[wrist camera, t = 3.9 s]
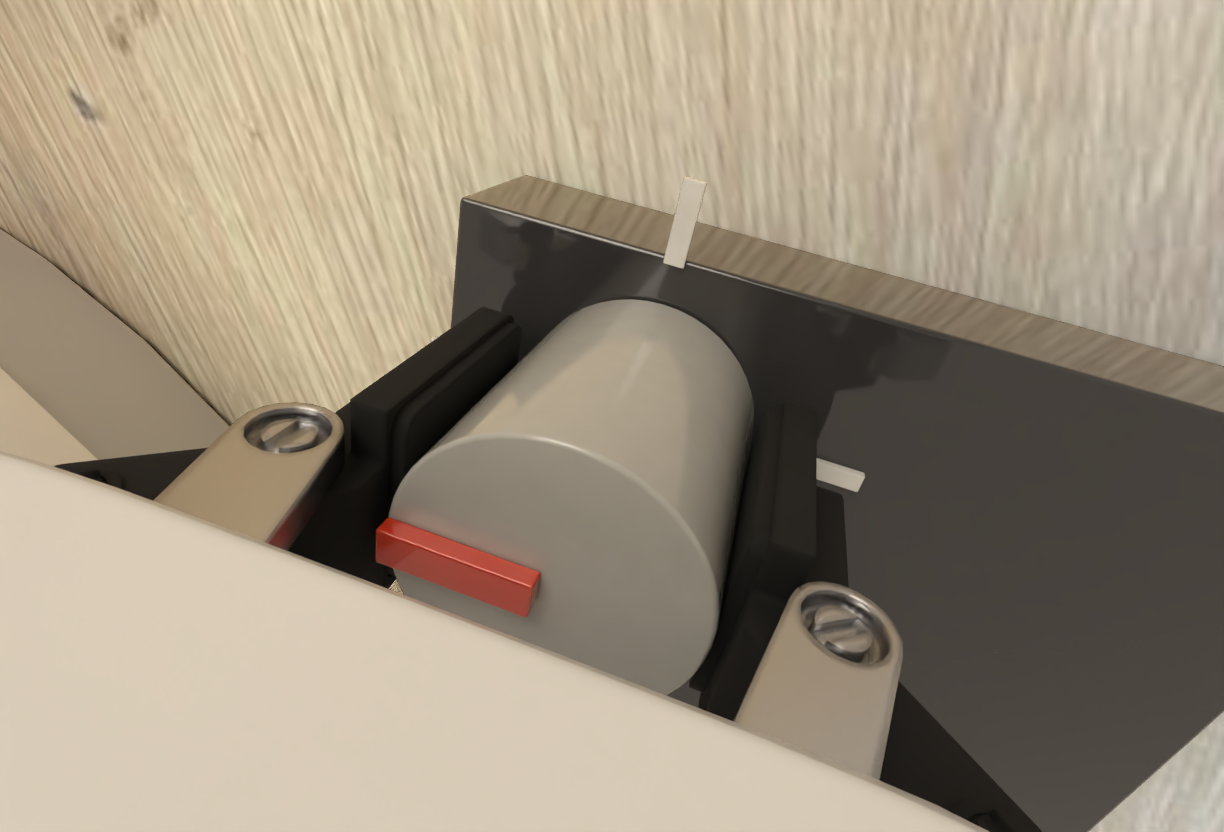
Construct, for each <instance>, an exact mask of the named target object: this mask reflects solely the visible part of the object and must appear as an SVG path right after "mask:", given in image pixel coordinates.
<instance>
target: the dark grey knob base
mask: <svg viewBox="0 0 1224 832" xmlns="http://www.w3.org/2000/svg"><path fill="white" fill-rule="evenodd" d="M706 185H707V182H706V181H702V180H698V179H695V178H691V177H687V176H686V177H684V180H683V184H682V188H681V192H680V196H679V200H678V204H677V208H676V212H675V216H674V215H670V214H667V213H663V212H659V211H656V210H652V209H648V208H645V207H641V206H637V205H634V204H630V203H626V202H623V201H619V200H615V199H612V198H608V197H605V196H601V195H597V194H594V193H590V192H586V191H583V190H579V189H575V188H572V187H568V186H564V185H561V184H557V183H554V182H550V181H546V180H543V179H539V178H535V177H532V176H528V175H525V176H521V177H519V178H516V179H513V180H510V181H507V182H505V183H502V184H499V185H496V186H494V187H491V188H488V189H485V190H482V191H480V192H477V193H474V194H471V195H468V196H466V197H463V198H462V199H461V203H460V216H459V229H458V242H457V255H456V268H455V281H454V295H453V308H452V321H451V328H452V327H454V326H455V325H457V324H458V323H459V322H461V321H462V320H464V319H465V318H467V317H468V316H469V315H471V314H472V313H474V312H475V311H476V310H478V309H479V308H481V307H486V308H489V309H493V310H496V311H499V312H502V313H506V314H509V315H512V316H513V318H514V324H515V325H518V326H520V327H521V329H522V336H521V343H520V350H519V358H518V363H519V362H520V361H521V360H522V359H523V358H524V357H525V356H526V355H527V354H528V353H529V352H530V351H531V350H532V349H533V348H534V347H535V346H536V345H537V344H538V343H539V342H540V341H541V340H542V339H543V338H544V337H545V336H546V335H547V334H548V333H549V332H550V331H551V330H552V329H553V328H555V327H556V326H557V325H558V324H559V323H560V322H561V321H562V320H564V319H565V318H567V317H568V316H570V315H571V314H573V313H575V312H577V311H579V310H581V309H583V308H585V307H588V306H591V305H594V304H597V303H600V302H606V301H612V300H626V299H633V300H643V301H650V302H655V303H659V304H663V305H666V306H669V307H672V308H674V309H677V310H680V311H682V312H684V313H685V314H687V315H689V316H691V317H693V318H695V319H696V320H698V321H699V322H701V323H702V324H704V325H705V326H707V327H708V328H709V329H710V330H711V331H713V332H714V333H715V334H716V335H717V336H718V337H719V338H720V339H721V340H722V341H723V342H724V343H725V344H726V345H727V347H728V348H729V349H730V350H731V351H732V353H733V354H734V356H735V357H736V359H737V360H738V362H739V363H740V365H741V367H742V369H743V371H744V374H745V376H746V378H747V381H748V384H749V387H750V390H751V394H752V399H753V405H754V425H753V433H752V439H751V445H750V451H749V456H750V454H751V451H752V448H753V446H754V443H755V440H756V438H757V435H758V432H759V430H760V427H761V424H762V422H763V419H764V417H765V414H766V411H767V409H768V407H769V405H770V404H774V405H777V406H780V407H781V405H782V403H783V401H784V400H785V399H786V400H789V401H792V402H795V403H799V404H802V405H805V406H808V407H812V408H815V409H816V411H817V470H816V486H819V487H822V488H825V489H828V490H831V491H834V492H837V493H840V494H841V495H842V496H843V500H844V516H845V532H846V549H847V565H848V582H849V588H850V589H852V590H855V591H857V592H858V593H860V594H862V595H863V596H865V597H867V598H868V599H870V600H871V601H873V602H874V603H875V604H876V605H877V606H878V607H879V608H881V609H882V610H883V611H884V612H885V613H886V614H887V615H888V617H889V618H890V619H891V621H892V622H893V623H894V625H895V626H896V627H897V629H898V632H899V634H900V637H901V639H902V641H903V659H902V665H901V670H900V675H899V680H898V681H899V682H900V683H901V684H902V685H903V686H904V687H905V688H906V689H907V690H908V691H909V692H910V693H911V694H912V695H913V696H914V697H915V698H916V699H917V701H918V702H919V703H920V704H921V705H922V706H923V707H924V708H925V709H926V710H927V711H928V712H929V713H930V714H931V715H932V716H933V717H934V718H935V719H936V720H937V721H938V723H939V724H940V725H941V726H942V727H943V728H944V729H945V730H946V731H947V732H948V733H949V734H950V735H951V736H952V737H953V738H954V739H955V740H956V741H957V742H958V743H959V745H960V746H961V747H962V748H963V749H964V750H965V751H966V752H967V753H968V754H969V755H970V756H971V757H972V758H973V759H974V760H975V761H976V762H977V763H978V764H979V765H980V767H981V768H982V769H983V770H984V771H985V772H986V773H987V774H988V775H989V776H990V777H991V778H992V779H993V780H994V781H995V782H996V783H997V784H998V785H999V786H1000V787H1001V789H1002V790H1003V791H1004V792H1005V793H1006V794H1007V795H1008V796H1009V797H1010V798H1011V799H1012V800H1013V801H1014V802H1015V803H1016V804H1017V805H1018V806H1019V807H1020V808H1021V809H1022V811H1023V812H1024V813H1025V814H1026V815H1027V816H1028V817H1029V818H1030V819H1031V820H1032V821H1033V822H1034V823H1035V824H1036V825H1037V826H1038V827H1039V828H1040V830H1041V831H1042V832H1089V831H1090V830H1091V829H1092V828H1093V827H1095V826H1096V825H1097V824H1098V823H1099V822H1100V821H1101V820H1102V819H1104V818H1105V817H1106V816H1107V815H1108V814H1109V813H1110V812H1111V811H1113V810H1114V809H1115V808H1116V807H1117V806H1118V805H1119V804H1120V803H1122V802H1123V801H1124V800H1125V799H1126V798H1127V797H1128V796H1129V795H1131V794H1132V793H1133V792H1134V791H1135V790H1136V789H1137V788H1138V787H1140V786H1141V785H1142V784H1143V783H1144V782H1145V781H1146V780H1147V779H1149V778H1150V777H1151V776H1152V775H1153V774H1154V773H1155V772H1156V771H1158V770H1159V769H1160V768H1161V767H1162V766H1163V765H1164V764H1165V763H1167V762H1168V761H1169V760H1170V759H1171V758H1172V757H1173V756H1174V755H1175V754H1177V753H1178V752H1179V751H1180V750H1181V749H1182V748H1183V747H1184V746H1186V745H1187V744H1188V743H1189V742H1190V741H1191V740H1192V739H1193V738H1195V737H1196V736H1197V735H1198V734H1199V733H1200V732H1201V731H1202V730H1204V729H1205V728H1206V727H1207V726H1208V725H1209V724H1210V723H1211V722H1213V721H1214V720H1215V719H1216V718H1217V717H1218V716H1219V715H1220V714H1222V713H1223V712H1224V366H1221V365H1217V364H1213V363H1210V362H1206V361H1203V360H1199V359H1195V358H1192V357H1188V356H1184V355H1181V354H1177V353H1173V352H1170V351H1166V350H1162V349H1159V348H1155V347H1152V346H1148V345H1144V344H1141V343H1137V342H1133V341H1130V340H1126V339H1122V338H1119V337H1115V336H1111V335H1108V334H1104V333H1100V332H1097V331H1093V330H1090V329H1086V328H1082V327H1079V326H1075V325H1071V324H1068V323H1064V322H1060V321H1057V320H1053V319H1049V318H1046V317H1042V316H1038V315H1035V314H1031V313H1028V312H1024V311H1020V310H1017V309H1013V308H1009V307H1006V306H1002V305H998V304H995V303H991V302H987V301H984V300H980V299H976V298H973V297H969V296H966V295H962V294H958V293H955V292H951V291H947V290H944V289H940V288H936V287H933V286H929V285H925V284H922V283H918V282H914V281H911V280H907V279H904V278H900V277H896V276H893V275H889V274H885V273H882V272H878V271H874V270H871V269H867V268H863V267H860V266H856V265H853V264H849V263H845V262H842V261H838V260H834V259H831V258H827V257H823V256H820V255H816V254H812V253H809V252H805V251H801V250H798V249H794V248H791V247H787V246H783V245H780V244H776V243H772V242H769V241H765V240H761V239H758V238H754V237H750V236H747V235H743V234H739V233H736V232H732V231H729V230H725V229H721V228H718V227H714V226H710V225H707V224H703V223H699V222H697V219H698V215H699V212H700V208H701V204H702V200H703V197H704V193H705V189H706ZM437 338H438V337H433V338H432V339H431V342H432V341H434V340H435V339H437ZM749 456H748V459H749ZM689 682H690V679H689V680H687V681H686V682H685V683H684V684H683V685H682V686H681V687H679V688H678V689H676V690H674V691H673V692H671V693H669V694H668V695H666V696H669V697H671V698H674V699H677V700H679V701H682V702H684V703H687V704H689V705H692V706H695V707H697V708H698V704H699V699H700V693H701V692H700V691H697V690H694V689H692V688H689Z"/></svg>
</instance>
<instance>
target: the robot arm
mask: <svg viewBox="0 0 1224 832" xmlns="http://www.w3.org/2000/svg"><path fill="white" fill-rule="evenodd" d="M521 336H522V329H521V327H520V326H518V325H515V324H514V318H513V316H512V315H509V314H506V313H502V312H499V311H496V310H493V309H489V308H486V307H481V308H479V309H478V310H476V311H475V312H474V313H472V314H471V315H469V316H468V317H467V318H465V319H464V320H462V321H461V322H459V323H458V324H457V325H455V326H454V327H452V328H451V329H449V330H448V331H447V332H445V333H444V334H442V335H441V336H440V337H438V338H437V339H435V340H434V341H432V342H431V343H430V344H428V345H427V346H425V347H424V348H423V349H421V350H420V351H418V352H417V353H415V354H414V355H413V356H411V357H410V358H408V359H407V360H406V361H404V362H403V363H401V364H400V365H398V366H397V367H396V368H394V369H393V370H391V371H390V372H389V373H387V374H386V375H384V376H383V377H381V378H380V379H379V380H377V381H376V382H374V383H373V384H372V385H370V386H369V387H367V388H366V389H364V390H363V391H362V392H360V393H359V394H357V395H356V396H355V397H353V398H352V399H350V403H348V404H347V405H345V406H344V407H343V408H341V409H340V410H338V411H337V412H336V413H333V412H332V411H330V410H328V409H326V408H324V407H320V406H317V405H313V404H307V403H297V402H292V403H277V404H272V405H267V406H262V407H260V408H257V409H255V410H252V411H250V412H247V413H246V414H245V415H243V416H242V417H240V418H239V419H237V420H236V421H235V422H234V423H233V424H232V425H231V426H230V427H229V428H228V429H227V430H226V431H225V432H224V433H223V434H222V435H221V436H220V437H219V438H218V439H217V440H215V441H214V442H213V443H212V444H211V445H210V446H209V447H208V448H201V449H192V450H183V451H174V452H165V453H156V454H147V455H138V456H129V457H120V458H111V459H102V460H93V461H84V462H75V463H66V464H60V465H55V466H51V465H48V464H45V463H42V462H39V461H36V460H33V459H29V458H25V457H21V456H17V455H13V454H9V453H5V452H1V451H0V832H1042V831H1041V830H1040V828H1039V827H1038V826H1037V825H1036V824H1035V823H1034V822H1033V821H1032V820H1031V819H1030V818H1029V817H1028V816H1027V815H1026V814H1025V813H1024V812H1023V811H1022V809H1021V808H1020V807H1019V806H1018V805H1017V804H1016V803H1015V802H1014V801H1013V800H1012V799H1011V798H1010V797H1009V796H1008V795H1007V794H1006V793H1005V792H1004V791H1003V790H1002V789H1001V787H1000V786H999V785H998V784H997V783H996V782H995V781H994V780H993V779H992V778H991V777H990V776H989V775H988V774H987V773H986V772H985V771H984V770H983V769H982V768H981V767H980V765H979V764H978V763H977V762H976V761H975V760H974V759H973V758H972V757H971V756H970V755H969V754H968V753H967V752H966V751H965V750H964V749H963V748H962V747H961V746H960V745H959V743H958V742H957V741H956V740H955V739H954V738H953V737H952V736H951V735H950V734H949V733H948V732H947V731H946V730H945V729H944V728H943V727H942V726H941V725H940V724H939V723H938V721H937V720H936V719H935V718H934V717H933V716H932V715H931V714H930V713H929V712H928V711H927V710H926V709H925V708H924V707H923V706H922V705H921V704H920V703H919V702H918V701H917V699H916V698H915V697H914V696H913V695H912V694H911V693H910V692H909V691H908V690H907V689H906V688H905V687H904V686H903V685H902V684H901V683H900V682H899V681H898V680H899V675H900V670H901V665H902V659H903V641H902V639H901V637H900V634H899V632H898V629H897V627H896V626H895V625H894V623H893V622H892V621H891V619H890V618H889V617H888V615H887V614H886V613H885V612H884V611H883V610H882V609H881V608H879V607H878V606H877V605H876V604H875V603H874V602H873V601H871V600H870V599H868V598H867V597H865V596H863V595H862V594H860V593H858V592H857V591H855V590H852V589H850V588H849V582H848V565H847V549H846V532H845V516H844V500H843V496H842V495H841V494H840V493H837V492H834V491H831V490H828V489H825V488H822V487H819V486H816V470H817V411H816V409H815V408H812V407H808V406H805V405H802V404H799V403H795V402H792V401H789V400H786V399H785V400H784V401H783V403H782V405H781V407H780V406H777V405H774V404H770V405H769V407H768V409H767V411H766V414H765V417H764V419H763V422H762V424H761V427H760V430H759V432H758V435H757V438H756V440H755V443H754V446H753V448H752V451H751V454H750V456H749V459H748V462H747V467H746V473H745V479H744V484H743V490H742V496H741V501H740V507H739V513H738V518H737V524H736V529H735V535H734V541H733V546H732V552H731V558H730V563H729V569H728V574H727V580H726V586H725V591H724V597H723V603H722V608H721V614H720V620H719V625H718V631H717V634H716V637H715V640H714V643H713V646H712V648H711V650H710V652H709V654H708V656H707V658H706V660H705V661H704V663H703V664H702V665H701V666H700V668H699V669H698V670H697V671H696V673H695V674H694V675H693V676H692V677H691V678H690V682H689V688H692V689H694V690H697V691H700V692H701V693H700V699H699V704H698V708H697V707H695V706H692V705H689V704H687V703H684V702H682V701H679V700H677V699H674V698H671V697H669V696H666V695H664V694H661V693H658V692H656V691H653V690H651V689H648V688H646V687H643V686H640V685H638V684H635V683H633V682H630V681H627V680H625V679H622V678H620V677H617V676H615V675H612V674H609V673H607V672H604V671H602V670H599V669H596V668H594V667H591V666H589V665H586V664H584V663H581V662H578V661H576V660H573V659H571V658H568V657H565V656H563V655H560V654H558V653H555V652H552V651H550V650H547V649H545V648H542V647H539V646H537V645H534V644H532V643H529V642H526V641H524V640H521V639H518V638H516V637H513V636H511V635H508V634H505V633H503V632H500V631H497V630H495V629H492V628H490V627H487V626H484V625H482V624H479V623H477V622H474V621H471V620H469V619H466V618H463V617H461V616H458V615H456V614H453V613H450V612H448V611H445V610H442V609H440V608H437V607H435V606H432V605H429V604H427V603H424V602H421V601H419V600H416V599H413V598H411V597H408V596H406V595H403V594H400V593H398V592H395V591H392V590H390V589H388V588H389V587H390V586H391V584H392V583H393V582H394V581H395V580H396V577H395V574H394V571H393V568H391V567H389V566H386V565H383V564H381V563H378V562H376V560H375V547H376V530H377V528H378V527H379V526H380V525H381V524H382V523H383V522H384V521H385V520H386V519H387V518H388V516H389V511H390V508H391V504H392V501H393V497H394V494H395V492H396V490H397V488H398V486H399V484H400V482H401V480H402V479H403V478H404V476H405V475H406V474H407V473H408V471H409V470H410V469H411V467H412V466H413V465H414V464H415V463H416V462H417V461H418V460H419V459H420V458H421V457H423V456H424V455H425V454H426V453H427V452H428V451H429V450H430V449H431V448H432V447H433V446H434V445H435V444H436V443H437V442H438V441H439V440H440V439H441V438H442V437H443V436H444V435H445V434H446V433H447V432H448V431H449V430H450V429H451V428H452V427H453V426H454V425H455V424H456V423H457V422H458V421H459V420H460V419H461V418H462V417H463V416H464V415H465V414H466V413H467V412H469V411H470V410H471V409H472V408H473V407H474V406H475V405H476V404H477V403H478V402H479V401H480V400H481V399H482V398H483V397H484V396H485V395H486V394H487V393H488V392H489V391H490V390H491V389H492V388H493V387H494V386H495V385H496V384H497V383H498V382H499V381H500V380H501V379H502V378H503V377H504V376H505V375H506V374H507V373H508V372H509V371H510V370H511V369H512V368H513V367H515V366H516V365H517V364H518V358H519V350H520V343H521Z"/></svg>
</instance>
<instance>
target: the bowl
mask: <svg viewBox="0 0 1224 832" xmlns="http://www.w3.org/2000/svg"><path fill="white" fill-rule="evenodd" d="M229 427H230V426H229V425H228V424H227V423H226V422H225V421H224V420H223V419H222V418H221V417H220V416H219V415H218V414H217V413H216V412H215V411H214V410H213V409H212V408H211V407H210V406H209V405H208V404H207V403H206V402H205V401H204V400H203V399H202V398H201V397H200V396H199V395H198V394H197V393H196V392H195V391H194V390H193V389H192V388H191V387H190V386H189V385H188V384H187V383H186V382H185V381H184V380H183V379H182V378H181V377H180V376H179V375H178V373H177V372H176V371H175V370H174V369H173V368H172V367H171V366H170V365H169V364H168V363H167V362H166V361H165V360H164V359H163V358H162V357H161V356H160V355H159V354H158V353H157V352H156V351H155V350H154V349H153V348H152V347H151V346H150V345H149V344H148V343H147V342H146V341H145V340H144V339H142V338H141V337H140V336H139V335H137V334H136V333H135V332H134V331H133V330H131V329H130V328H129V327H128V326H127V325H125V324H124V323H123V322H122V321H120V320H119V319H118V318H117V317H116V316H114V315H113V314H112V313H111V312H109V311H108V310H107V309H106V308H105V307H103V306H102V305H101V304H100V303H99V302H97V301H96V300H95V299H94V298H92V297H91V296H90V295H89V294H88V293H86V292H85V291H84V290H83V289H81V288H80V287H79V286H78V285H77V284H75V283H74V282H73V281H72V280H71V279H69V278H68V277H67V276H66V275H64V274H63V273H62V272H61V271H60V270H58V269H57V268H56V267H55V266H54V265H52V264H51V263H50V262H49V261H47V260H46V259H45V258H44V257H42V256H41V255H39V254H38V253H36V252H34V251H33V250H31V249H30V248H28V247H27V246H25V245H24V244H22V243H21V242H19V241H18V240H16V239H15V238H13V237H12V236H10V235H9V234H7V233H6V232H4V231H3V230H1V229H0V451H1V452H5V453H9V454H13V455H17V456H21V457H25V458H29V459H33V460H36V461H39V462H42V463H45V464H48V465H51V466H55V465H60V464H66V463H75V462H84V461H93V460H102V459H111V458H120V457H129V456H138V455H147V454H156V453H165V452H174V451H183V450H192V449H201V448H208V447H209V446H210V445H211V444H212V443H213V442H214V441H215V440H217V439H218V438H219V437H220V436H221V435H222V434H223V433H224V432H225V431H226V430H227V429H228V428H229Z"/></svg>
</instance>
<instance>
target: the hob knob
mask: <svg viewBox="0 0 1224 832" xmlns="http://www.w3.org/2000/svg"><path fill="white" fill-rule="evenodd" d="M753 425H754V405H753V399H752V394H751V390H750V387H749V384H748V381H747V378H746V376H745V374H744V371H743V369H742V367H741V365H740V363H739V362H738V360H737V359H736V357H735V356H734V354H733V353H732V351H731V350H730V349H729V348H728V347H727V345H726V344H725V343H724V342H723V341H722V340H721V339H720V338H719V337H718V336H717V335H716V334H715V333H714V332H713V331H711V330H710V329H709V328H708V327H707V326H705V325H704V324H702V323H701V322H699V321H698V320H696V319H695V318H693V317H691V316H689V315H687V314H685V313H684V312H682V311H680V310H677V309H674V308H672V307H669V306H666V305H663V304H659V303H655V302H650V301H643V300H633V299H626V300H612V301H606V302H600V303H597V304H594V305H591V306H588V307H585V308H583V309H581V310H579V311H577V312H575V313H573V314H571V315H570V316H568V317H567V318H565V319H564V320H562V321H561V322H560V323H559V324H558V325H557V326H556V327H555V328H553V329H552V330H551V331H550V332H549V333H548V334H547V335H546V336H545V337H544V338H543V339H542V340H541V341H540V342H539V343H538V344H537V345H536V346H535V347H534V348H533V349H532V350H531V351H530V352H529V353H528V354H527V355H526V356H525V357H524V358H523V359H522V360H521V361H520V362H519V363H518V364H517V365H516V366H515V367H513V368H512V369H511V370H510V371H509V372H508V373H507V374H506V375H505V376H504V377H503V378H502V379H501V380H500V381H499V382H498V383H497V384H496V385H495V386H494V387H493V388H492V389H491V390H490V391H489V392H488V393H487V394H486V395H485V396H484V397H483V398H482V399H481V400H480V401H479V402H478V403H477V404H476V405H475V406H474V407H473V408H472V409H471V410H470V411H469V412H467V413H466V414H465V415H464V416H463V417H462V418H461V419H460V420H459V421H458V422H457V423H456V424H455V425H454V426H453V427H452V428H451V429H450V430H449V431H448V432H447V433H446V434H445V435H444V436H443V437H442V438H441V439H440V440H439V441H438V442H437V443H436V444H435V445H434V446H433V447H432V448H431V449H430V450H429V451H428V452H427V453H426V454H425V455H424V456H423V457H421V458H420V459H419V460H418V461H417V462H416V463H415V464H414V465H413V466H412V467H411V469H410V470H409V471H408V473H407V474H406V475H405V476H404V478H403V479H402V480H401V482H400V484H399V486H398V488H397V490H396V492H395V494H394V497H393V501H392V504H391V508H390V511H389V516H388V518H387V519H386V520H385V521H384V522H383V523H382V524H381V525H380V526H379V527H378V528H377V530H376V547H375V560H376V562H378V563H381V564H383V565H386V566H389V567H391V568H393V571H394V574H395V577H396V580H397V582H398V584H399V586H400V588H401V590H402V592H403V594H404V595H406V596H408V597H411V598H413V599H416V600H419V601H421V602H424V603H427V604H429V605H432V606H435V607H437V608H440V609H442V610H445V611H448V612H450V613H453V614H456V615H458V616H461V617H463V618H466V619H469V620H471V621H474V622H477V623H479V624H482V625H484V626H487V627H490V628H492V629H495V630H497V631H500V632H503V633H505V634H508V635H511V636H513V637H516V638H518V639H521V640H524V641H526V642H529V643H532V644H534V645H537V646H539V647H542V648H545V649H547V650H550V651H552V652H555V653H558V654H560V655H563V656H565V657H568V658H571V659H573V660H576V661H578V662H581V663H584V664H586V665H589V666H591V667H594V668H596V669H599V670H602V671H604V672H607V673H609V674H612V675H615V676H617V677H620V678H622V679H625V680H627V681H630V682H633V683H635V684H638V685H640V686H643V687H646V688H648V689H651V690H653V691H656V692H658V693H661V694H664V695H668V694H669V693H671V692H673V691H674V690H676V689H678V688H679V687H681V686H682V685H683V684H684V683H685V682H686V681H687V680H689V679H690V678H691V677H692V676H693V675H694V674H695V673H696V671H697V670H698V669H699V668H700V666H701V665H702V664H703V663H704V661H705V660H706V658H707V656H708V654H709V652H710V650H711V648H712V646H713V643H714V640H715V637H716V634H717V631H718V625H719V620H720V614H721V608H722V603H723V597H724V591H725V586H726V580H727V574H728V569H729V563H730V558H731V552H732V546H733V541H734V535H735V529H736V524H737V518H738V513H739V507H740V501H741V496H742V490H743V484H744V479H745V473H746V467H747V462H748V456H749V451H750V445H751V439H752V433H753Z"/></svg>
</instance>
